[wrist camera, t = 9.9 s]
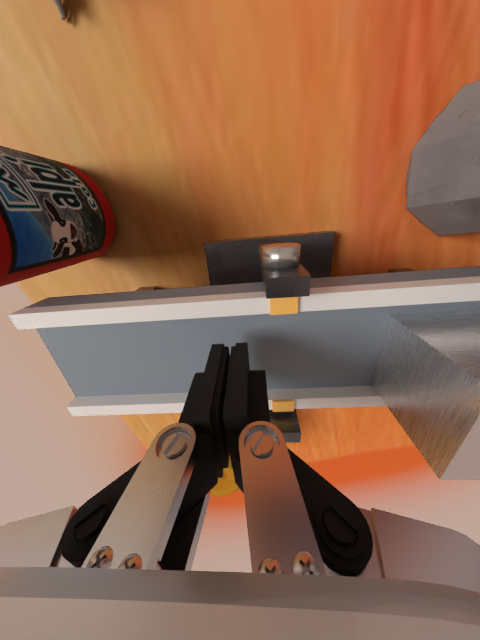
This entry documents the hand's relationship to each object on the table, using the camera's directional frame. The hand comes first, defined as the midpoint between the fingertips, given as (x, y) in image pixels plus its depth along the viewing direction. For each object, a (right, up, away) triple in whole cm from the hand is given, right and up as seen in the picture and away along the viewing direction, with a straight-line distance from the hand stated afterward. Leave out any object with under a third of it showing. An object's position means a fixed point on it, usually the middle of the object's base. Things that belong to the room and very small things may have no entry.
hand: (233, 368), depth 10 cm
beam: (+3, +1, +3) cm, 4 cm away
